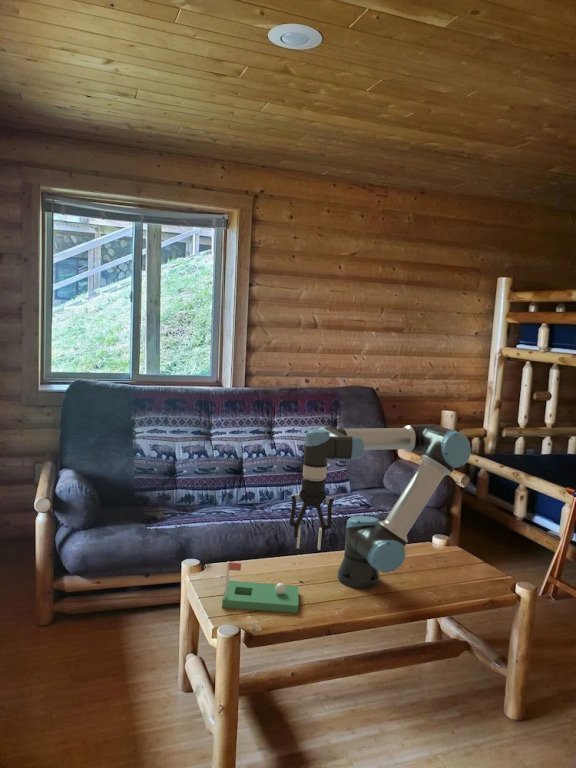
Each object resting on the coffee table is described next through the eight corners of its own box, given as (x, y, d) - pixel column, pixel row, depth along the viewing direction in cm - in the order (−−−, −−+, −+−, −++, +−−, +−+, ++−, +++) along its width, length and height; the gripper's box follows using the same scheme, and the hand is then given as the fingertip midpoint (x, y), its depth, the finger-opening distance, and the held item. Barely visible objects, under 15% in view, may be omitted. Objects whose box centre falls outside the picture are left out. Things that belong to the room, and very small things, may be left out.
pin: (238, 598, 186) (241, 562, 185) (238, 600, 186) (240, 563, 184) (224, 597, 187) (227, 561, 185) (224, 598, 186) (226, 562, 185)
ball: (285, 591, 194) (286, 581, 193) (285, 597, 190) (286, 586, 190) (274, 591, 194) (275, 580, 193) (274, 596, 190) (275, 585, 190)
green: (297, 593, 199) (298, 585, 199) (297, 613, 185) (298, 605, 185) (227, 587, 199) (227, 580, 199) (221, 607, 185) (222, 599, 185)
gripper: (343, 477, 191) (337, 545, 194) (284, 472, 192) (279, 541, 194) (344, 483, 184) (338, 554, 186) (284, 478, 184) (278, 549, 187)
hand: (308, 547), depth 190 cm, fingers open, 6 cm apart
